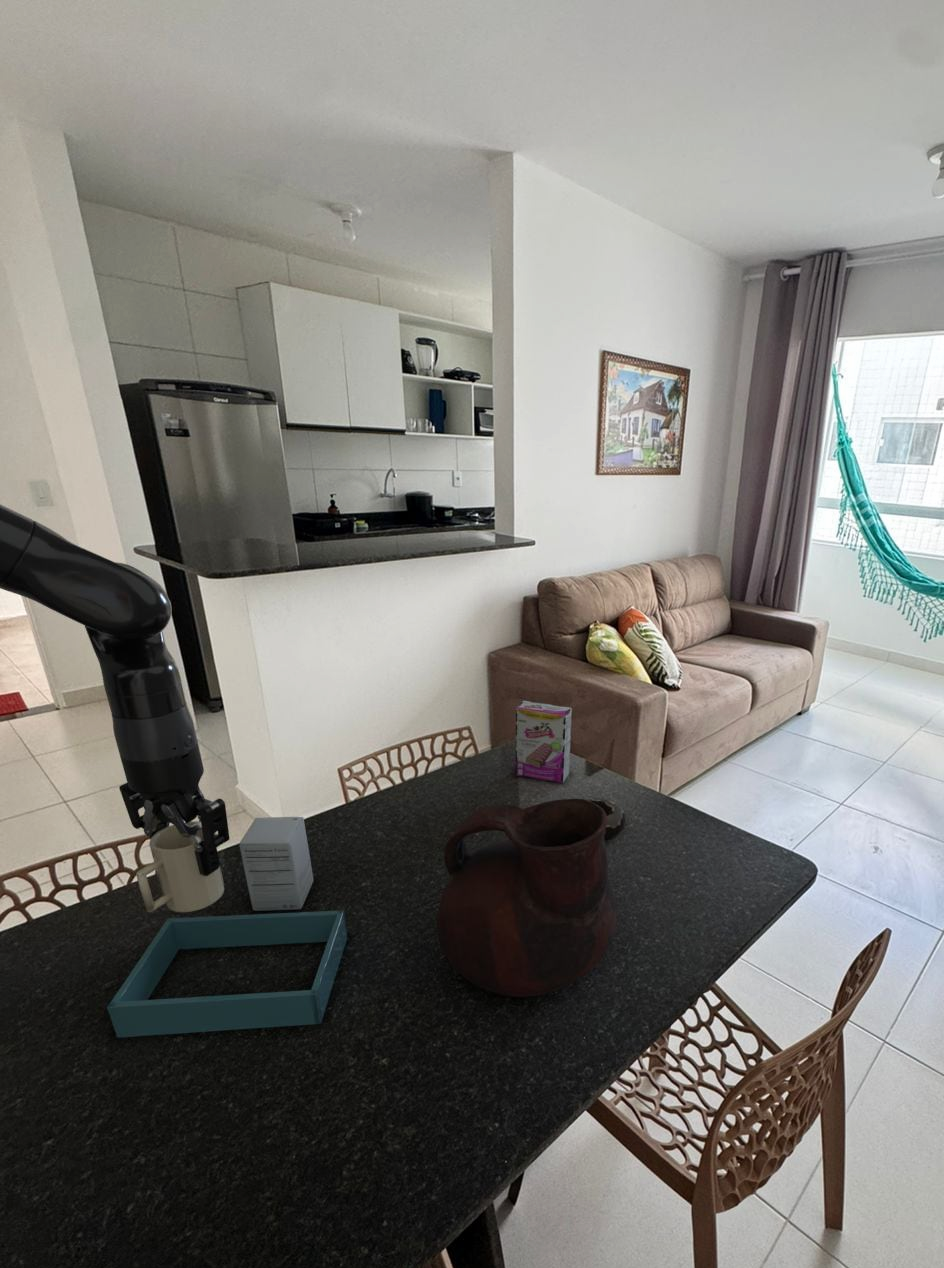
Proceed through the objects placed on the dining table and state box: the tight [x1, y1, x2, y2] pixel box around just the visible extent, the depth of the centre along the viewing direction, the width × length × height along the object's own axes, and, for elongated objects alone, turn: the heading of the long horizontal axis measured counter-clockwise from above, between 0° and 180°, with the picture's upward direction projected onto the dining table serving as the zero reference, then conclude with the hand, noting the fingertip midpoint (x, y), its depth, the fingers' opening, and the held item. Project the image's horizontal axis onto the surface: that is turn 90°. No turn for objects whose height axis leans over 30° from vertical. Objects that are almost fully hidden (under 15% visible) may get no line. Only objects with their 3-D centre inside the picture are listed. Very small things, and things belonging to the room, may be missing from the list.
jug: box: [436, 798, 618, 998], centre depth 91 cm, size 25×25×25 cm
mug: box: [135, 820, 225, 913], centre depth 81 cm, size 9×6×9 cm
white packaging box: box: [238, 816, 314, 912], centre depth 103 cm, size 7×7×13 cm
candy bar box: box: [515, 700, 573, 784], centre depth 142 cm, size 11×5×16 cm, turn 77°
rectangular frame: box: [106, 909, 348, 1039], centre depth 88 cm, size 24×16×5 cm, turn 97°
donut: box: [583, 797, 627, 841], centre depth 127 cm, size 12×12×4 cm
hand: (188, 864), depth 82 cm, fingers closed on mug, 6 cm apart
